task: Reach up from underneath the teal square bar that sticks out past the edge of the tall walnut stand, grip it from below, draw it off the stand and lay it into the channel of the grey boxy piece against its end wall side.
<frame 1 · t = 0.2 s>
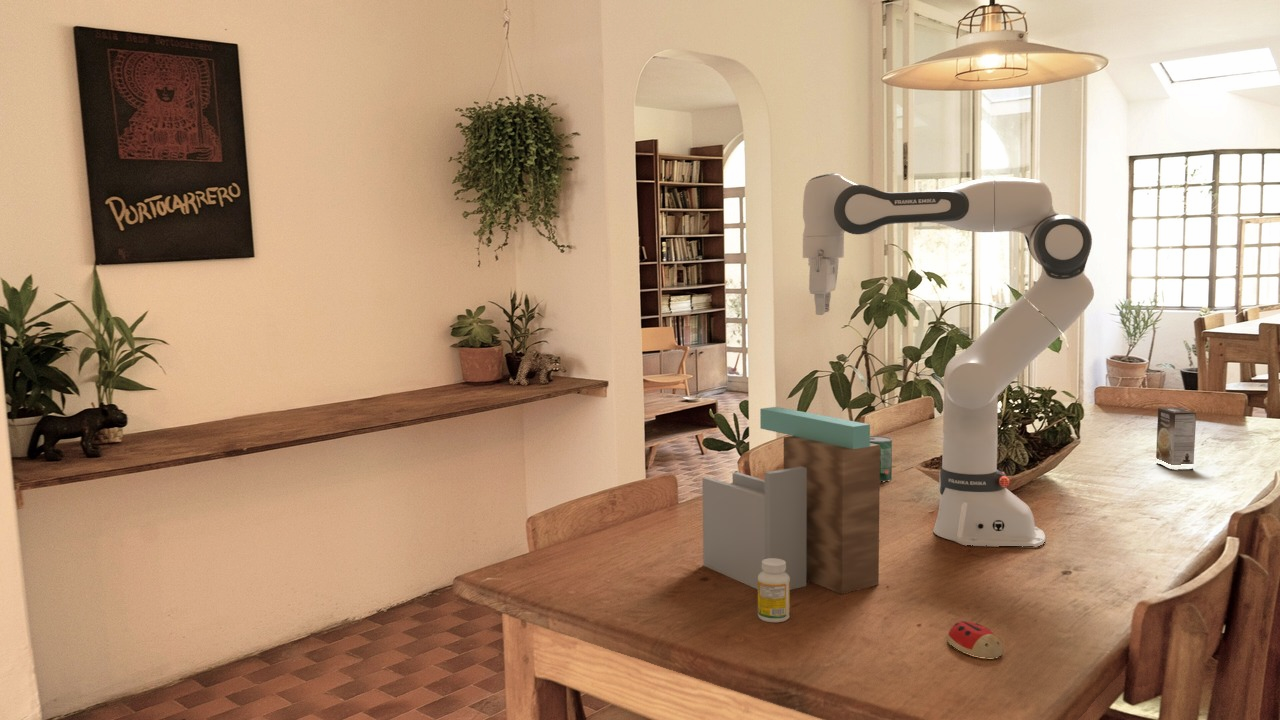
hand: (822, 313, 217), 47 cm above the table, tool pointing down, fingers open, 8 cm apart
stand: (829, 577, 186), on the table
teal square bar: (812, 437, 187), point 26 cm above the table, touching stand
ladybug figurine: (974, 651, 152), on the table
grey boxy piece: (742, 570, 190), on the table
supplement bottle: (773, 618, 166), on the table
canned tomato: (876, 479, 265), on the table
coffee box: (1174, 467, 274), on the table
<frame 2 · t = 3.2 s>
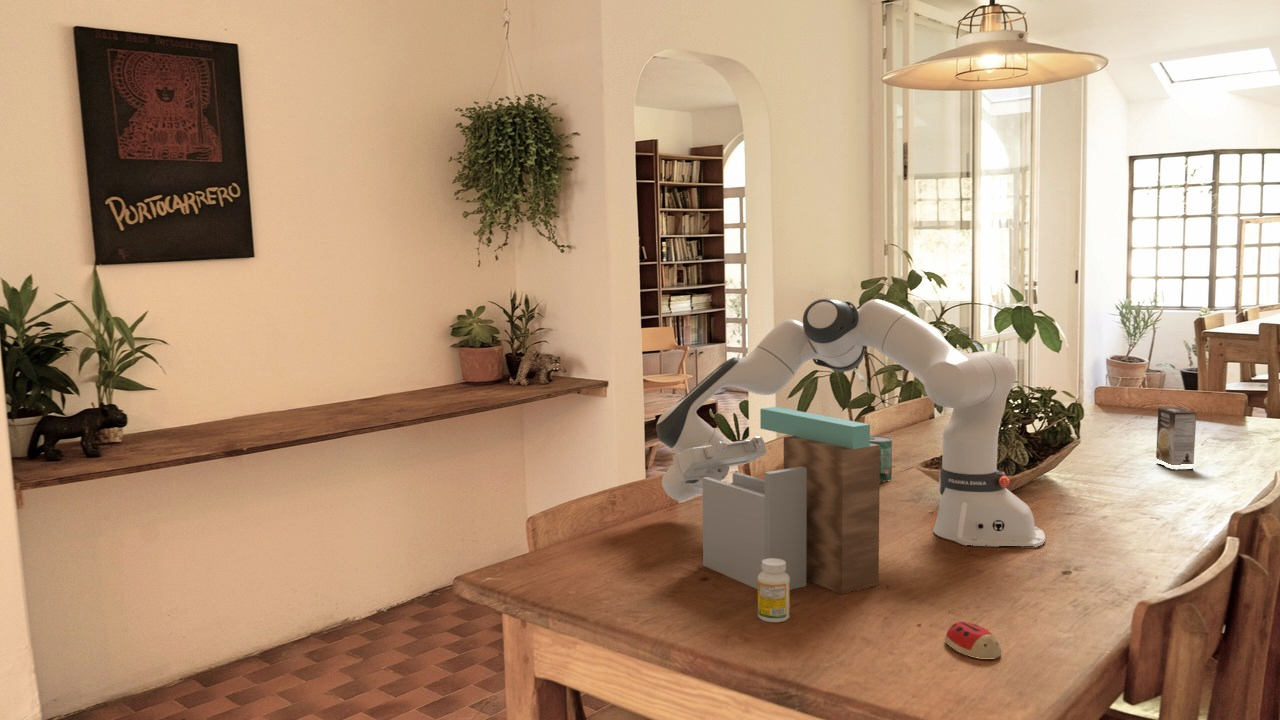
hand: (742, 442, 206), 22 cm above the table, tool pointing upward, fingers open, 8 cm apart
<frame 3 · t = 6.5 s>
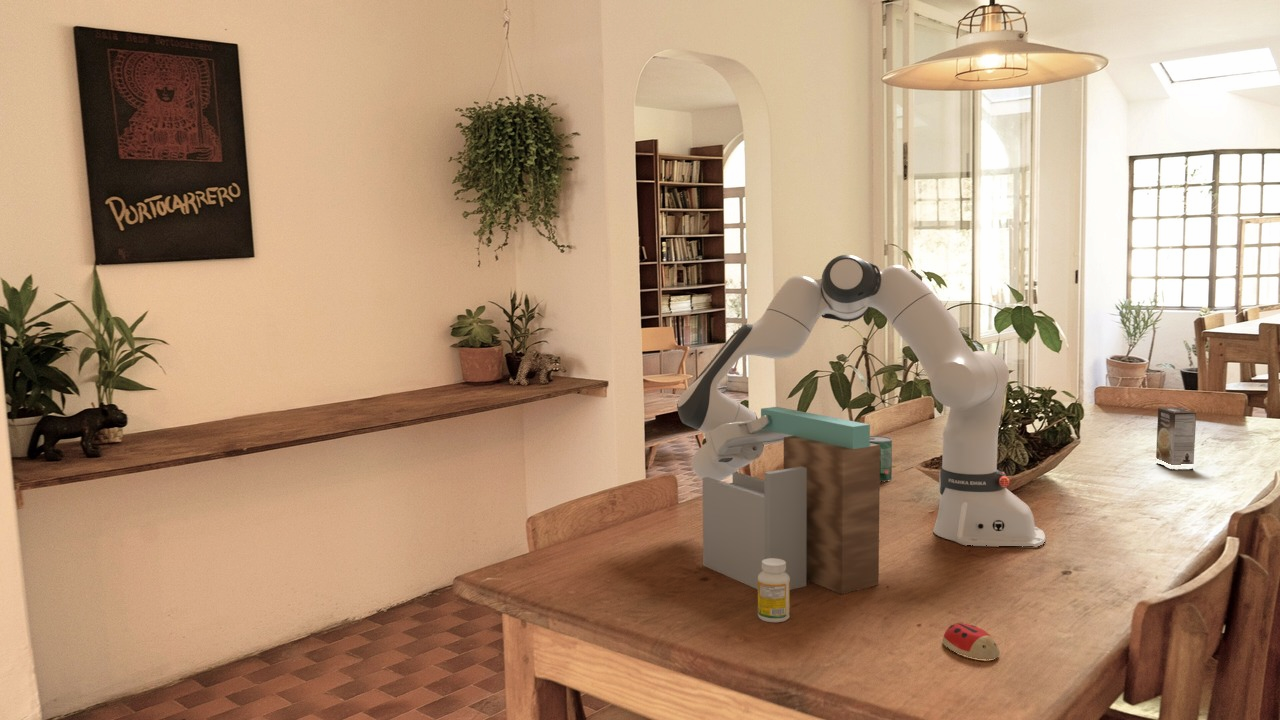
hand: (779, 417, 195), 28 cm above the table, tool pointing upward, fingers closed on teal square bar, 4 cm apart
teal square bar: (812, 437, 187), point 26 cm above the table, touching gripper, stand
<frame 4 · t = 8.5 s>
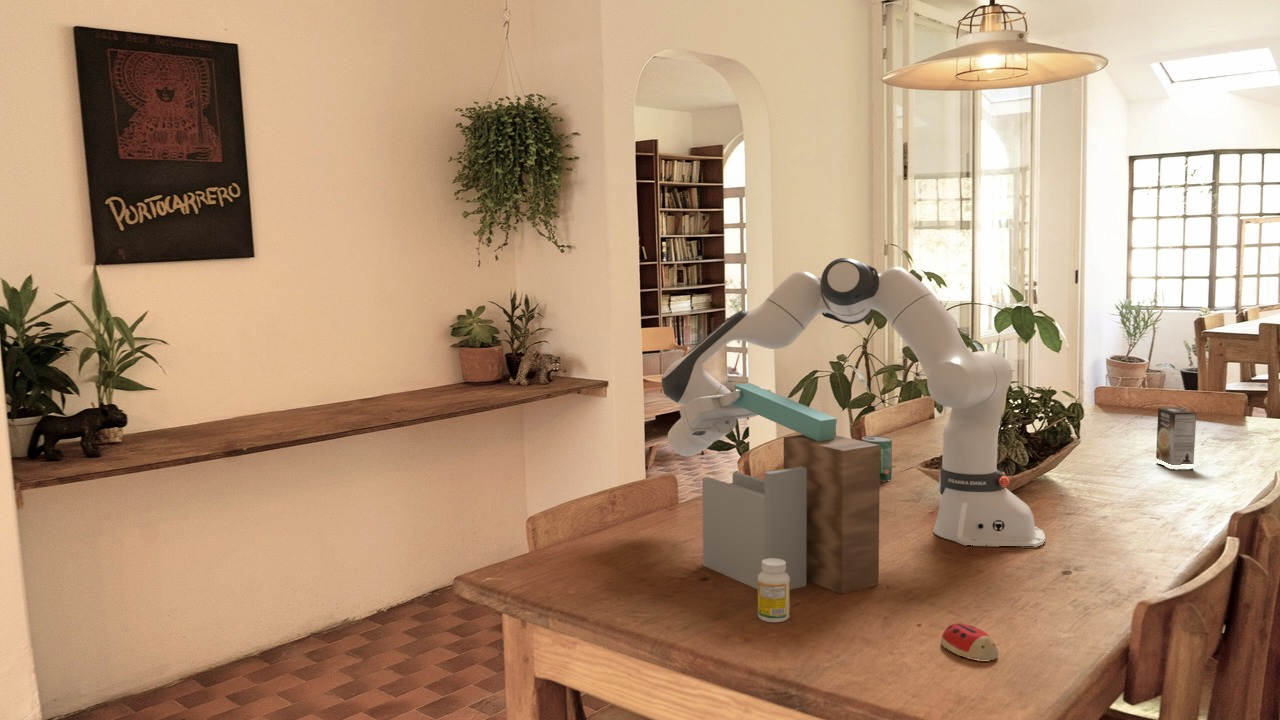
hand: (750, 391, 202), 33 cm above the table, tool pointing upward, fingers closed on teal square bar, 4 cm apart
teal square bar: (781, 420, 194), point 28 cm above the table, tilted 9°, touching gripper
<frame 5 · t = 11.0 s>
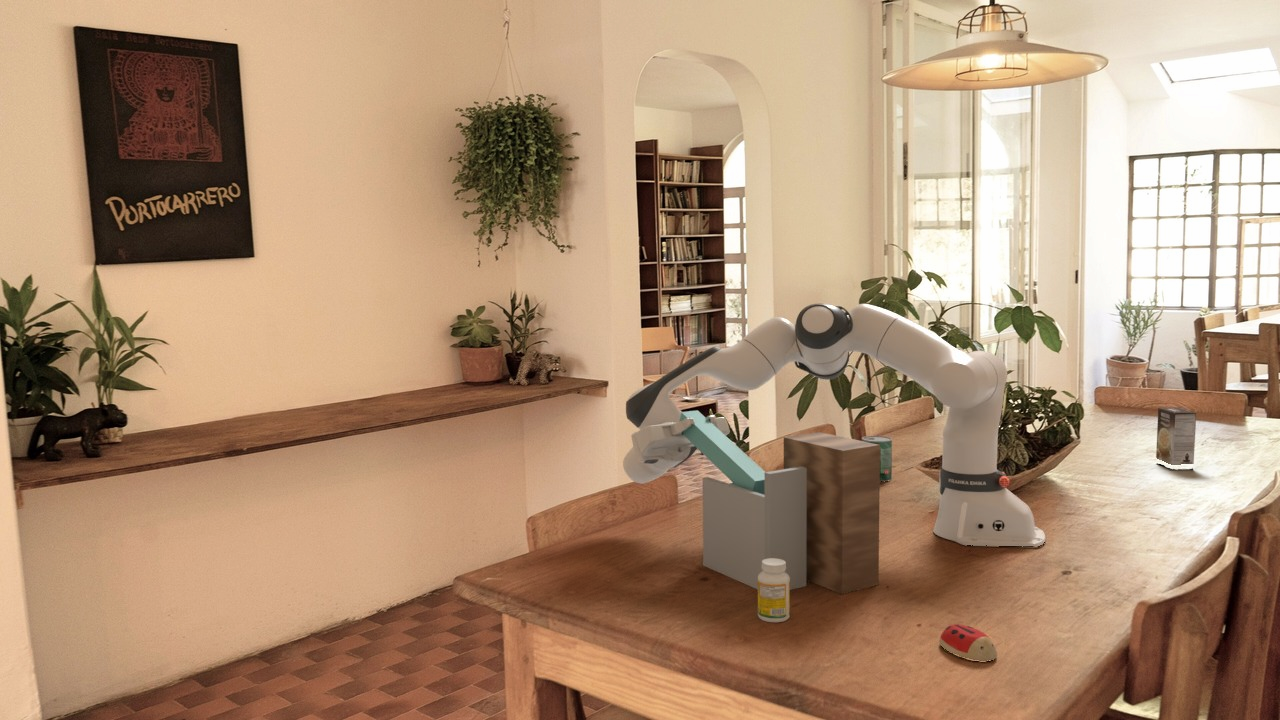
hand: (702, 419, 198), 28 cm above the table, tool pointing upward, fingers closed on teal square bar, 4 cm apart
teal square bar: (720, 461, 194), point 20 cm above the table, tilted 22°, touching grey boxy piece, gripper
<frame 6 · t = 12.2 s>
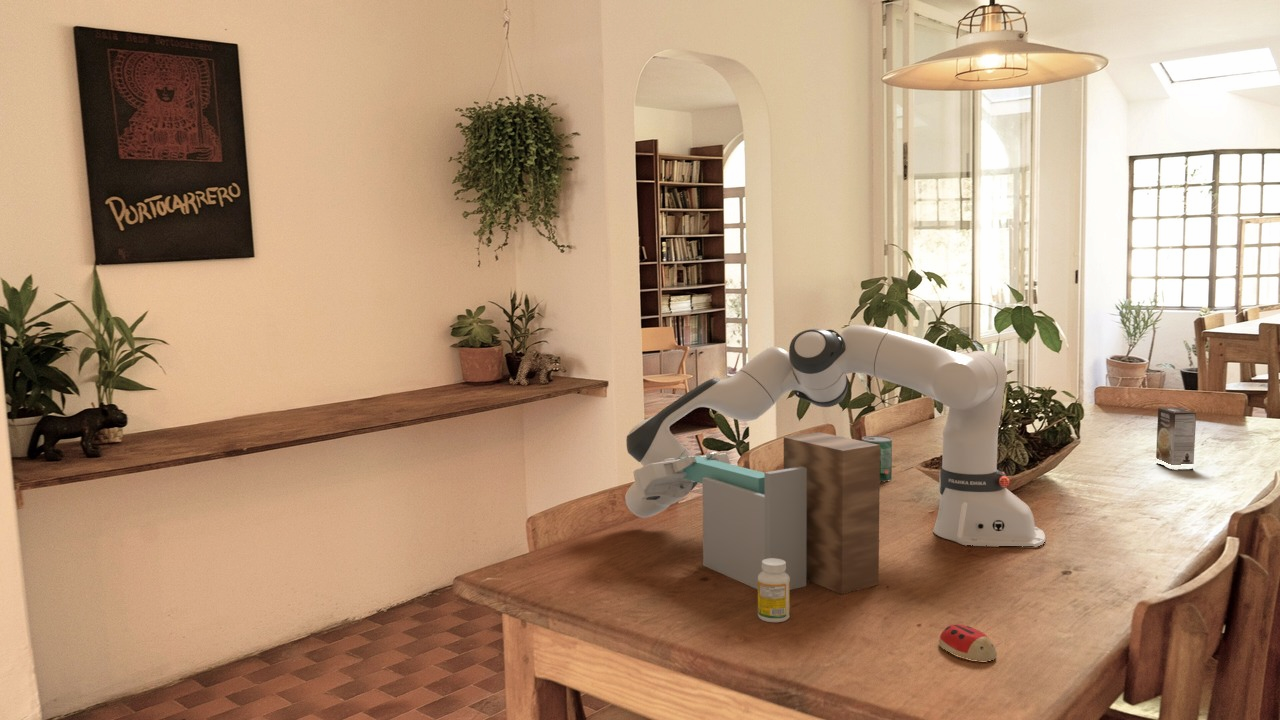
hand: (703, 457, 199), 20 cm above the table, tool pointing upward, fingers closed on teal square bar, 4 cm apart
teal square bar: (725, 486, 193), point 16 cm above the table, touching gripper
when the fingers open (20 cm above the table, at t = 12.7 s): teal square bar moves 1 cm, resting on grey boxy piece.
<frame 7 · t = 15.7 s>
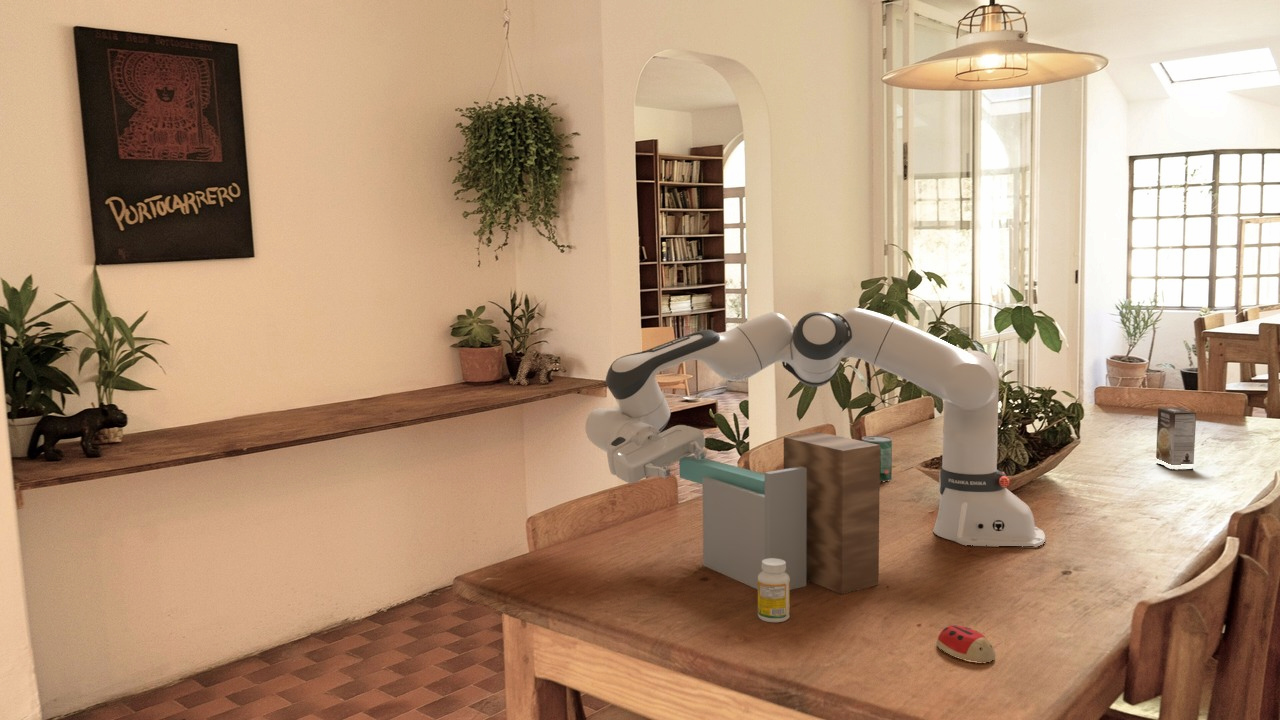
hand: (685, 464, 193), 20 cm above the table, tool horizontal, fingers open, 8 cm apart
teal square bar: (727, 487, 192), point 15 cm above the table, touching grey boxy piece
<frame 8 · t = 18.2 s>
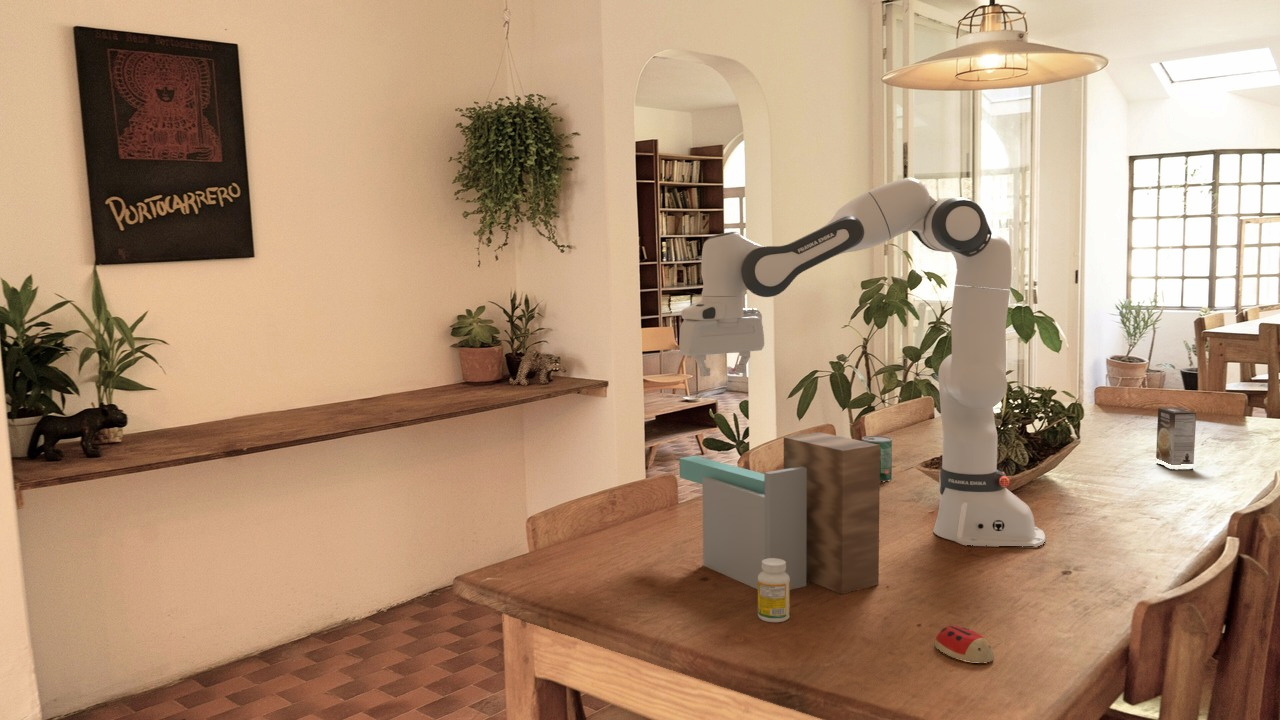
hand: (723, 374, 211), 35 cm above the table, tool pointing down, fingers open, 8 cm apart
at the end: teal square bar inside the target area on the grey boxy piece (1.6 cm from its centre), point 15.5 cm above the grey boxy piece's base; teal square bar touching grey boxy piece; the gripper is holding nothing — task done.
